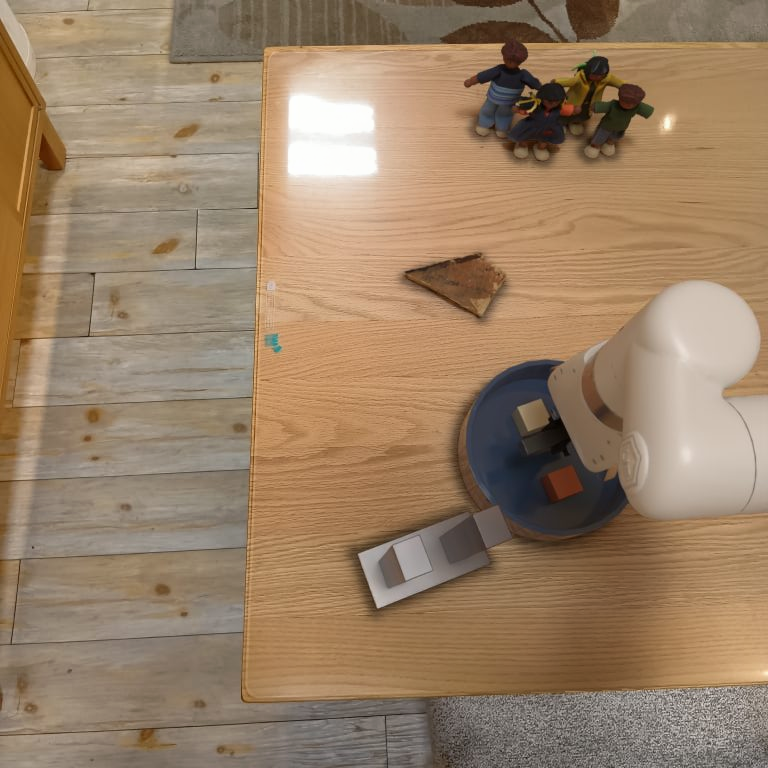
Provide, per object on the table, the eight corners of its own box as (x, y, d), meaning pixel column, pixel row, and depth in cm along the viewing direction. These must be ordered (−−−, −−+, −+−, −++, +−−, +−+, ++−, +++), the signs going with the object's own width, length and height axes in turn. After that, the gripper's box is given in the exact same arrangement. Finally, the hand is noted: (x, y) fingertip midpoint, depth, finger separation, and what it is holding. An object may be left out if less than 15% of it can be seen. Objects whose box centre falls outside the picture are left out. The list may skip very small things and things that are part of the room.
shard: (402, 277, 84) (404, 270, 82) (433, 232, 86) (435, 224, 85) (479, 321, 83) (482, 315, 81) (508, 274, 85) (512, 267, 83)
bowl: (652, 504, 77) (675, 497, 72) (498, 566, 74) (510, 563, 69) (578, 354, 82) (594, 337, 77) (432, 406, 79) (438, 392, 74)
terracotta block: (574, 494, 76) (584, 490, 73) (550, 504, 76) (559, 499, 73) (563, 469, 77) (572, 464, 74) (539, 478, 77) (547, 473, 74)
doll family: (465, 170, 90) (486, 98, 77) (452, 114, 92) (471, 35, 80) (631, 154, 92) (678, 82, 79) (614, 100, 95) (657, 21, 82)
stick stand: (488, 564, 74) (541, 548, 55) (376, 609, 72) (390, 609, 53) (467, 512, 76) (511, 479, 57) (356, 554, 73) (364, 535, 54)
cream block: (544, 429, 78) (552, 422, 76) (521, 438, 78) (528, 431, 75) (533, 405, 79) (541, 398, 76) (510, 414, 79) (517, 406, 76)
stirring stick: (610, 425, 71) (616, 421, 69) (523, 458, 69) (527, 454, 67) (603, 411, 71) (609, 407, 70) (517, 443, 69) (521, 440, 68)
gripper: (719, 460, 53) (623, 495, 70) (628, 285, 57) (559, 360, 74) (634, 494, 51) (558, 521, 69) (547, 313, 55) (497, 382, 73)
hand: (559, 437), depth 71 cm, fingers closed on stirring stick, 1 cm apart
